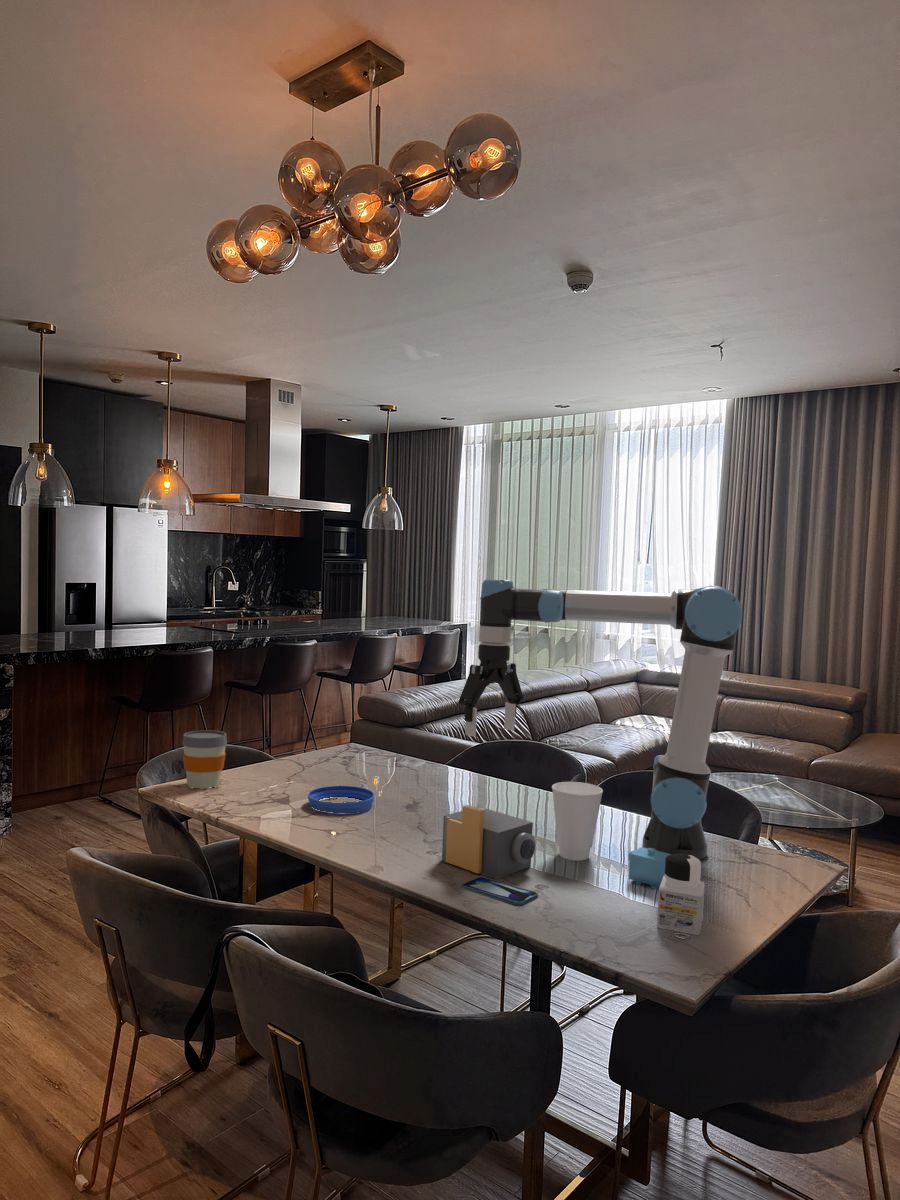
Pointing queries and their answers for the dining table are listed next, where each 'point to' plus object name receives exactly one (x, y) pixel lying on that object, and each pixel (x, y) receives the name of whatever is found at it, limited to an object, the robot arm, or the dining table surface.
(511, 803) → the dining table surface
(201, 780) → the reusable coffee cup
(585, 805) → the cup
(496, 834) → the case
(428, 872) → the dining table surface
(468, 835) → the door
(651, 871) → the teapot
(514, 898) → the smartphone
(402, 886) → the dining table surface
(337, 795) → the blue flat round ring
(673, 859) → the container
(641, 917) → the dining table surface
